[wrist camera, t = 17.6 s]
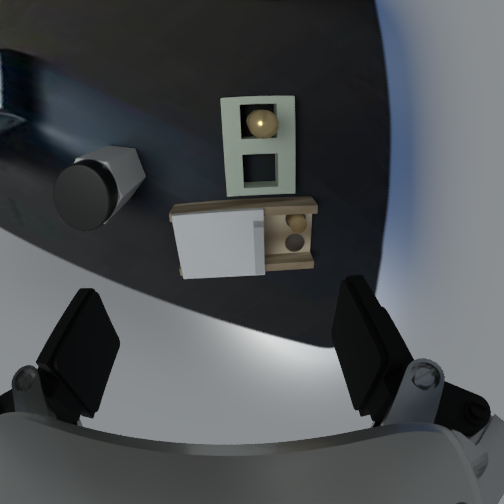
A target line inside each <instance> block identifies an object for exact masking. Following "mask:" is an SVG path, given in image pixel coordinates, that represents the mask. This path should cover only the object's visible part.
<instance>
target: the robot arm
mask: <svg viewBox="0 0 504 504" xmlns="http://www.w3.org/2000/svg"><path fill="white" fill-rule="evenodd" d="M331 335H332V341H333V344H334V347H335V350H336V353H337V356H338V359H339V362H340V365H341V368H342V371H343V375H344V378H345V381H346V384H347V387H348V391H349V394H350V397H351V401H352V404H353V407H354V409H355V410H359V412H360V416H361V417H362V416H366V415H370V416H371V419H372V420H373V421H374V422H373V424H372V426H371V428H368V429H363V430H358V431H353V432H348V433H343V434H338V435H333V436H326V437H319V438H312V439H305V440H297V441H289V442H278V443H266V444H245V445H205V444H186V443H172V442H163V441H154V440H147V439H140V438H133V437H127V436H122V435H116V434H111V433H106V432H102V431H97V430H93V429H89V428H85V427H83V426H82V423H81V421H80V419H79V418H80V415H82V416H85V417H89V418H93V417H94V414H95V412H97V411H98V409H99V406H100V403H101V399H102V396H103V393H104V390H105V387H106V384H107V381H108V378H109V375H110V372H111V369H112V366H113V363H114V360H115V358H116V355H117V352H118V350H119V347H120V340H119V337H118V335H117V333H116V331H115V329H114V327H113V325H112V323H111V321H110V319H109V316H108V314H107V312H106V310H105V308H104V305H103V303H102V300H101V298H100V296H99V294H98V293H97V292H95V290H94V289H92V288H81V289H79V290H78V292H77V293H76V295H75V296H74V298H73V299H72V301H71V302H70V304H69V306H68V307H67V309H66V311H65V312H64V314H63V315H62V317H61V319H60V320H59V322H58V323H57V325H56V327H55V328H54V330H53V332H52V334H51V335H50V337H49V339H48V340H47V342H46V344H45V346H44V348H43V349H42V352H41V353H40V355H39V357H38V359H37V361H36V363H37V365H38V366H39V367H38V369H36V368H35V367H34V366H31V365H27V366H24V367H22V368H20V369H19V370H18V371H17V372H16V373H15V375H14V377H13V379H12V389H11V390H9V391H8V392H6V393H4V394H2V395H1V396H0V504H498V502H499V501H500V499H501V498H502V496H503V494H504V421H503V420H501V419H500V418H499V417H498V416H497V415H494V416H493V417H492V416H491V414H490V413H491V411H490V406H489V405H488V403H487V401H486V400H485V399H484V398H483V397H481V396H479V395H477V394H474V393H472V392H469V391H467V390H464V389H462V388H459V387H457V386H455V385H452V384H450V383H448V382H445V381H444V378H445V376H444V373H443V370H442V369H441V367H440V366H439V365H438V364H437V363H436V362H434V361H432V360H429V359H424V358H423V359H417V360H414V359H413V357H412V355H411V353H410V352H409V350H408V348H407V346H406V344H405V342H404V340H403V339H402V337H401V335H400V333H399V331H398V329H397V328H396V326H395V324H394V322H393V321H392V319H391V317H390V315H389V314H388V312H387V311H386V309H385V308H384V307H381V305H380V304H379V302H378V300H377V299H376V297H375V295H374V293H373V292H372V290H371V288H370V287H369V285H368V283H367V282H366V280H365V279H364V277H363V276H362V275H353V276H347V277H346V279H345V280H342V281H341V285H340V291H339V297H338V302H337V307H336V312H335V317H334V322H333V327H332V333H331Z"/></svg>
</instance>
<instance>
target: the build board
mask: <svg viewBox="0 0 504 504" xmlns="http://www.w3.org/2000/svg"><path fill="white" fill-rule="evenodd" d="M249 104H274V114H275V115H276V117H277V119H278V122H279V127H278V130H277V132H276V133H275V136H272V137H270V138H267V139H260V138H257V137H255V136H250V137H241V123H240V105H249ZM221 114H222V130H223V145H224V160H225V174H226V187H227V197H229V196H246V195H265V194H292V193H295V96H248V97H230V98H221ZM271 153H275V173H276V181H259V182H244V180H243V161H242V155H246V154H271Z"/></svg>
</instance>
